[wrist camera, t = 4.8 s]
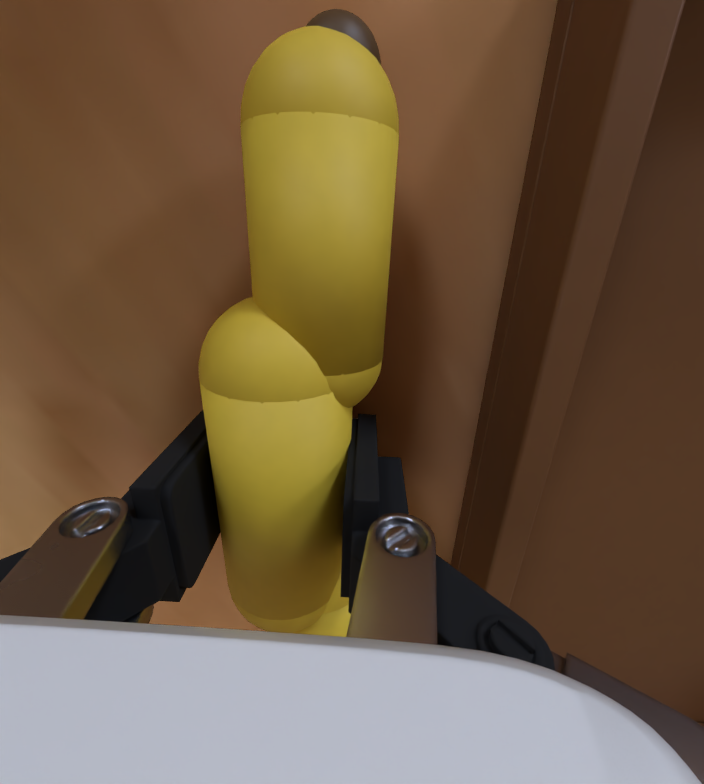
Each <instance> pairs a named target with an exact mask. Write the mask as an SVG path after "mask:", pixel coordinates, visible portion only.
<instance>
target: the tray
mask: <svg viewBox="0 0 704 784" xmlns="http://www.w3.org/2000/svg"><path fill="white" fill-rule="evenodd" d="M451 566H452V567H454V568H455V569H456V570H458V571H459V572H460V573H462V574H463V575H465V576H466V577H467V578H469V579H470V580H471V581H473V582H474V583H475V584H477V585H478V586H480V587H481V588H482V589H484V590H485V591H486V592H488V593H489V594H490V595H492V596H493V597H494V598H496V599H497V600H499V601H500V602H501V603H503V604H504V605H505V606H507V607H508V608H509V609H511V610H512V611H514V612H515V613H516V614H518V615H519V616H520V617H522V618H523V619H524V620H526V621H527V622H528V623H529V624H530V625H532V626H533V627H534V628H535V629H536V630H537V631H538V632H539V633H540V634H541V636H542V637H543V639H544V640H545V641H546V643H547V644H548V646H549V649H550V650H551V651H553V652H554V653H556V654H558V655H560V656H562V657H564V658H565V656H566V654H567V652H568V653H569V654H571V655H573V656H575V657H577V658H579V659H581V660H582V661H584V662H586V663H588V664H590V665H592V666H594V667H596V668H597V669H599V670H601V671H603V672H605V673H607V674H609V675H611V676H612V677H614V678H616V679H618V680H620V681H622V682H624V683H625V684H627V685H629V686H631V687H633V688H635V689H637V690H639V691H640V692H642V693H644V694H646V695H648V696H650V697H652V698H654V699H655V700H657V701H659V702H661V703H663V704H665V705H667V706H668V707H670V708H672V709H674V710H676V711H678V712H680V713H682V714H683V715H685V716H687V717H689V718H691V719H693V720H694V721H696V722H697V723H698V724H700V725H701V726H703V727H704V0H558V5H557V10H556V15H555V20H554V26H553V31H552V36H551V41H550V47H549V52H548V57H547V62H546V68H545V73H544V78H543V83H542V89H541V94H540V99H539V105H538V110H537V115H536V120H535V126H534V131H533V136H532V141H531V147H530V152H529V157H528V162H527V168H526V173H525V178H524V183H523V189H522V194H521V199H520V204H519V210H518V215H517V220H516V226H515V231H514V236H513V241H512V247H511V252H510V257H509V262H508V268H507V273H506V278H505V283H504V289H503V294H502V299H501V304H500V310H499V315H498V320H497V326H496V331H495V336H494V341H493V347H492V352H491V357H490V362H489V368H488V373H487V378H486V383H485V389H484V394H483V399H482V404H481V410H480V415H479V420H478V425H477V431H476V436H475V441H474V447H473V452H472V457H471V462H470V468H469V473H468V478H467V483H466V489H465V494H464V499H463V504H462V510H461V515H460V520H459V525H458V531H457V536H456V541H455V547H454V552H453V557H452V562H451Z"/></svg>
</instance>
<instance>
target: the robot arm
mask: <svg viewBox="0 0 704 784" xmlns="http://www.w3.org/2000/svg"><path fill="white" fill-rule="evenodd" d="M129 489H130V490H129V491H128V492H127V493H126V494H125V495H124V496H123V497H122V498H121V499H120V498H117V497H101V498H95V499H92V500H88V501H85V502H82V503H80V504H78V505H75V506H73V507H72V508H70V509H68V510H67V511H65V512H64V513H62V514H61V515H60V516H59V517H58V518H57V519H56V520H55V521H54V522H53V523H52V524H51V525H50V526H49V528H48V529H47V530H46V531H45V532H44V533H43V534H42V536H41V537H40V538H39V539H38V540H37V541H36V542H35V543H34V545H33V546H32V547H31V548H29V549H26V550H24V551H21V552H19V553H16V554H14V555H11V556H9V557H6V558H4V559H1V560H0V784H704V727H703V726H701V725H700V724H698V723H697V722H696V721H694V720H693V719H691V718H689V717H687V716H685V715H683V714H682V713H680V712H678V711H676V710H674V709H672V708H670V707H668V706H667V705H665V704H663V703H661V702H659V701H657V700H655V699H654V698H652V697H650V696H648V695H646V694H644V693H642V692H640V691H639V690H637V689H635V688H633V687H631V686H629V685H627V684H625V683H624V682H622V681H620V680H618V679H616V678H614V677H612V676H611V675H609V674H607V673H605V672H603V671H601V670H599V669H597V668H596V667H594V666H592V665H590V664H588V663H586V662H584V661H582V660H581V659H579V658H577V657H575V656H573V655H571V654H569V653H568V652H567V654H566V656H565V658H564V657H562V656H560V655H558V654H556V653H554V652H553V651H551V650H550V649H549V646H548V644H547V643H546V641H545V640H544V639H543V637H542V636H541V634H540V633H539V632H538V631H537V630H536V629H535V628H534V627H533V626H532V625H530V624H529V623H528V622H527V621H526V620H524V619H523V618H522V617H520V616H519V615H518V614H516V613H515V612H514V611H512V610H511V609H509V608H508V607H507V606H505V605H504V604H503V603H501V602H500V601H499V600H497V599H496V598H494V597H493V596H492V595H490V594H489V593H488V592H486V591H485V590H484V589H482V588H481V587H480V586H478V585H477V584H475V583H474V582H473V581H471V580H470V579H469V578H467V577H466V576H465V575H463V574H462V573H460V572H459V571H458V570H456V569H455V568H454V567H452V566H451V565H450V564H448V563H447V562H445V561H444V560H443V559H441V558H440V557H439V556H437V555H436V542H435V537H434V533H433V532H432V530H431V529H430V527H429V526H428V525H427V524H426V523H424V522H423V521H422V520H420V519H418V518H417V517H415V516H412V515H409V512H408V505H407V498H406V491H405V484H404V477H403V470H402V463H401V458H398V457H379V456H378V452H377V428H376V415H370V414H358V419H357V418H352V433H351V441H350V444H349V447H348V458H347V468H346V479H345V489H344V503H343V531H342V563H341V595H340V596H341V597H348V598H349V608H348V612H349V613H350V614H351V616H350V621H349V626H348V630H347V635H346V637H338V636H324V635H309V634H295V633H281V632H267V631H252V630H238V629H223V628H207V627H192V626H176V625H161V624H149V622H150V619H151V617H152V614H153V609H154V603H156V602H158V601H172V602H180V600H181V598H182V596H183V594H184V592H185V590H186V588H191V587H192V586H193V585H194V584H195V582H196V580H197V578H198V576H199V574H200V572H201V570H202V568H203V566H204V564H205V562H206V560H207V558H208V556H209V554H210V552H211V550H212V548H213V546H214V544H215V542H216V540H217V538H218V536H219V534H220V532H221V531H220V524H219V517H218V510H217V503H216V496H215V489H214V482H213V475H212V467H211V460H210V453H209V446H208V439H207V432H206V425H205V418H204V411H203V410H202V411H201V412H200V413H199V414H198V415H197V416H196V418H195V419H194V420H193V421H192V422H191V423H190V424H189V425H188V426H187V427H186V428H185V429H184V430H183V431H182V432H181V433H180V434H179V435H178V437H177V438H176V439H175V440H174V441H173V442H172V443H171V444H170V445H169V446H168V447H167V448H166V449H165V450H164V451H163V452H162V453H161V454H160V455H159V457H158V458H157V459H156V460H155V461H154V462H153V463H152V464H151V465H150V466H149V467H148V468H147V469H146V470H145V471H144V472H143V473H142V474H141V475H140V477H139V478H138V479H137V480H136V481H135V482H134V483H133V484H132V485H131V486H130V487H129Z"/></svg>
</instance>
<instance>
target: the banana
mask: <svg viewBox="0 0 704 784" xmlns="http://www.w3.org/2000/svg"><path fill="white" fill-rule="evenodd" d="M240 127H241V141H242V155H243V169H244V183H245V197H246V211H247V225H248V239H249V253H250V267H251V281H252V295H253V297H250V298H247V299H244V300H243V301H241V302H239V303H237V304H235V305H233V306H231V307H230V308H229V309H228V310H227V311H226V312H224V313H223V314H222V315H221V316H220V317H219V318H218V319H217V320H216V321H215V323H214V324H213V325H212V327H211V328H210V329H209V331H208V333H207V335H206V338H205V340H204V342H203V345H202V348H201V353H200V358H199V363H198V365H199V383H200V390H201V397H202V404H203V411H204V418H205V425H206V432H207V439H208V446H209V453H210V460H211V467H212V475H213V482H214V489H215V496H216V503H217V510H218V517H219V524H220V531H221V538H222V545H223V552H224V559H225V566H226V573H227V581H228V586H229V590H230V593H231V596H232V600H233V601H234V603H235V605H236V607H237V609H238V610H239V611H240V613H241V614H242V615H243V616H244V617H245V618H246V619H247V620H248V621H249V622H250V623H252V624H253V625H255V626H256V627H258V628H261V629H263V630H266V631H269V632H281V633H295V634H309V635H324V636H338V637H346V635H347V630H348V626H349V621H350V616H351V614H350V613H349V612H348V608H349V598H348V597H341V596H340V595H341V563H342V531H343V503H344V489H345V479H346V468H347V458H348V447H349V444H350V441H351V433H352V408H353V406H355V405H356V404H358V403H359V402H360V401H361V400H362V399H363V398H364V397H365V396H367V394H368V393H369V392H370V390H371V389H372V387H373V386H374V384H375V383H376V381H377V378H378V376H379V373H380V371H381V365H382V359H383V349H384V335H385V322H386V308H387V294H388V280H389V267H390V253H391V239H392V225H393V212H394V198H395V184H396V171H397V157H398V143H399V116H398V110H397V105H396V99H395V95H394V93H393V90H392V87H391V85H390V82H389V79H388V77H387V75H386V74H385V72H384V70H383V69H382V67H381V61H380V54H379V50H378V46H377V43H376V41H375V38H374V36H373V34H372V32H371V31H370V29H369V28H368V26H367V25H366V24H365V23H364V22H363V21H362V20H361V19H360V18H359V17H358V16H356V15H354V14H353V13H351V12H348V11H345V10H341V9H332V10H327V11H324V12H322V13H320V14H318V15H316V16H315V17H314V18H312V19H311V20H310V21H309V23H308V24H307V25H306V27H302V28H298V29H296V30H293V31H290V32H288V33H286V34H283V35H282V36H280V37H279V38H277V39H276V40H275V41H274V42H273V43H272V44H270V45H269V46H268V47H267V48H266V49H265V50H264V51H263V53H262V54H261V56H260V57H259V59H258V60H257V61H256V63H255V64H254V66H253V67H252V69H251V72H250V74H249V76H248V79H247V81H246V84H245V87H244V92H243V98H242V103H241V126H240Z"/></svg>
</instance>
